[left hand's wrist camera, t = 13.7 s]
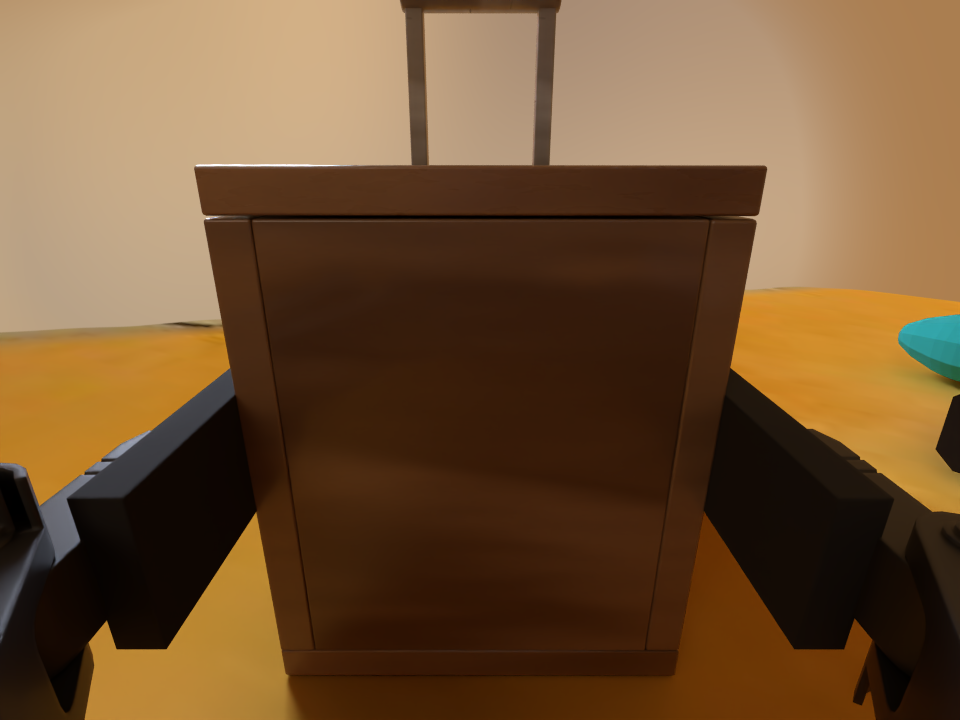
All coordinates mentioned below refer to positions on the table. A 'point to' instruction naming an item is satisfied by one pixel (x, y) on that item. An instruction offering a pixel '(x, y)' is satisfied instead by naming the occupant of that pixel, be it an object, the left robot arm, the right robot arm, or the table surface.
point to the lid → (479, 184)
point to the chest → (480, 432)
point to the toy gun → (939, 370)
